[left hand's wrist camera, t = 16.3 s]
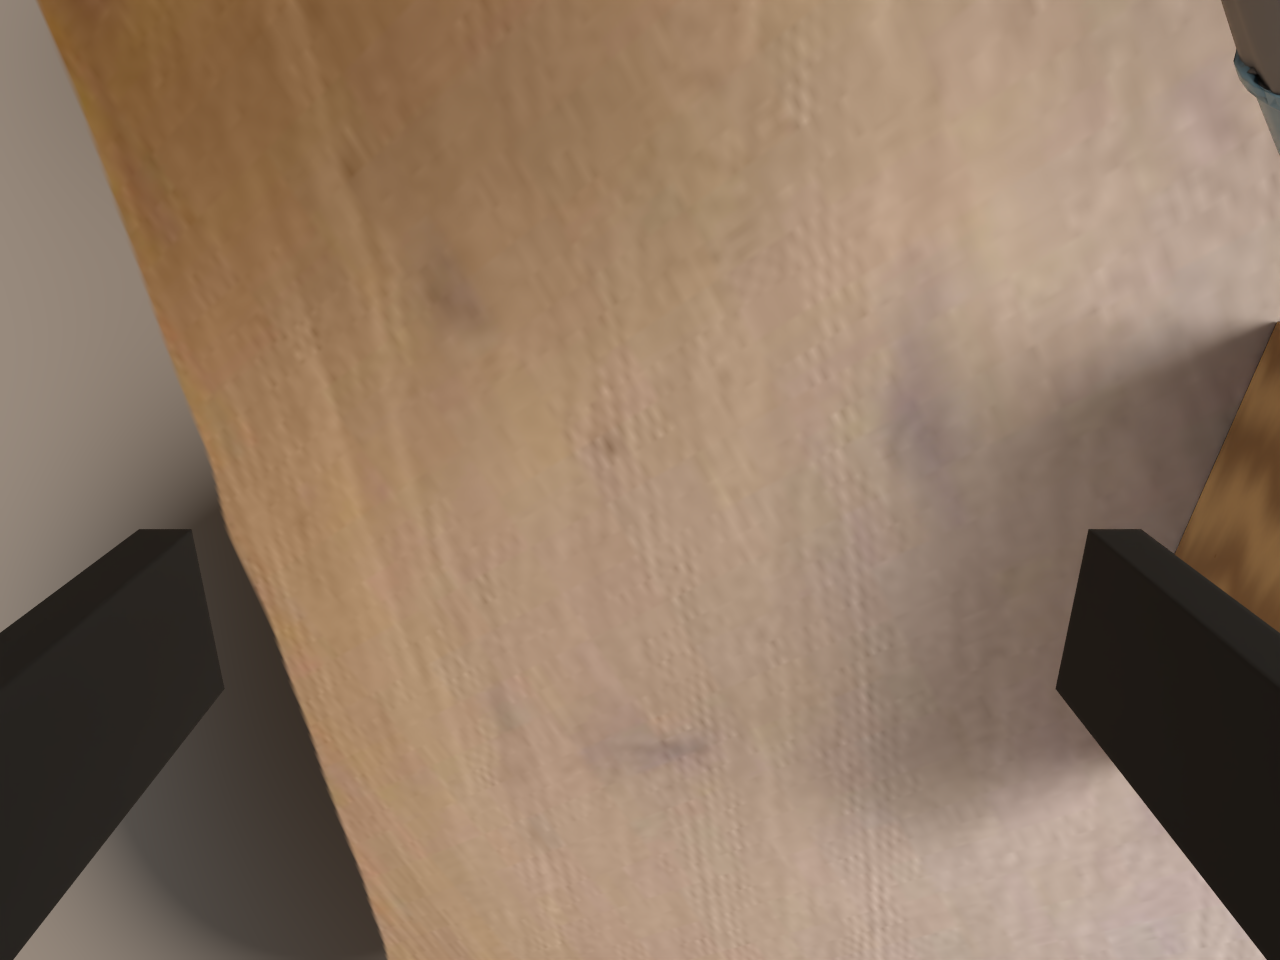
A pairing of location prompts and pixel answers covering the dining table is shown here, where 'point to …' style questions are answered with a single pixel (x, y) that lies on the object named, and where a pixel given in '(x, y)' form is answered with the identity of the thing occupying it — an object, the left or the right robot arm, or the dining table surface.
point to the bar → (1244, 501)
